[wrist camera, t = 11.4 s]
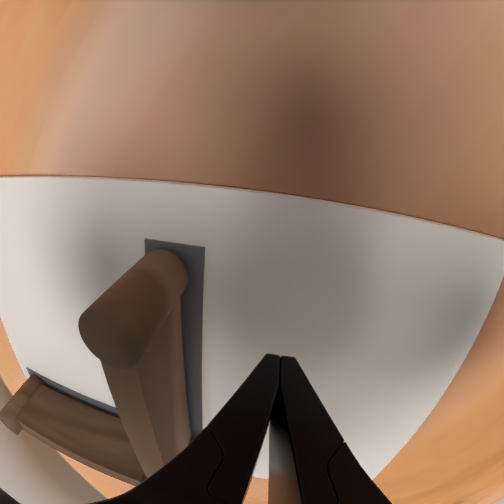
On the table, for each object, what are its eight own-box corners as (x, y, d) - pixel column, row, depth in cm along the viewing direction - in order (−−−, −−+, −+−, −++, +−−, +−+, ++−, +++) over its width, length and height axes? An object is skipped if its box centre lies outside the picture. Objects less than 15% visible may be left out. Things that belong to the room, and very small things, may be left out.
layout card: (-23, 176, 10) (-29, 178, 10) (509, 240, 9) (515, 244, 8) (43, 403, 17) (40, 407, 17) (371, 476, 15) (371, 481, 15)
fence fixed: (31, 366, 15) (-8, 412, 10) (201, 428, 14) (177, 504, 10) (39, 383, 16) (4, 428, 11) (201, 443, 15) (180, 513, 10)
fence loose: (164, 429, 14) (142, 483, 10) (138, 246, 10) (72, 302, 6) (196, 436, 13) (178, 494, 10) (188, 253, 9) (134, 318, 6)
